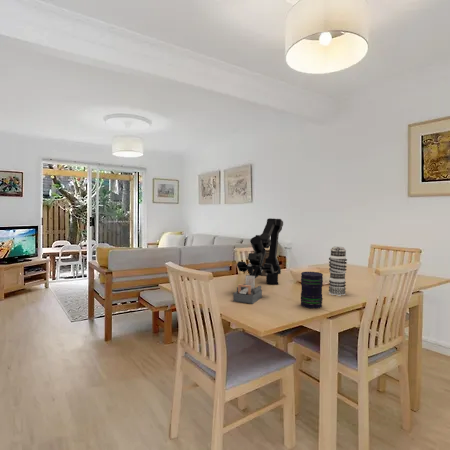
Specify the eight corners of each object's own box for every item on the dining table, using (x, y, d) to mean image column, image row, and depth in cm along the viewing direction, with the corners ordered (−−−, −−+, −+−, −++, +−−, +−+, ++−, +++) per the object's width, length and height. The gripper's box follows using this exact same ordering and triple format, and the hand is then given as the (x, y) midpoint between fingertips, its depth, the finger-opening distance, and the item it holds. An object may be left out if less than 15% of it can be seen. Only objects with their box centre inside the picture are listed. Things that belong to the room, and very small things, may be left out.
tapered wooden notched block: (246, 288, 167) (246, 275, 166) (254, 289, 165) (254, 275, 165) (238, 293, 158) (238, 278, 157) (247, 294, 156) (247, 279, 156)
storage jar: (306, 301, 161) (306, 270, 160) (325, 305, 154) (326, 273, 154) (296, 305, 153) (297, 273, 152) (316, 309, 147) (317, 276, 146)
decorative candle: (334, 296, 169) (335, 248, 168) (324, 292, 178) (325, 246, 177) (350, 295, 171) (351, 247, 170) (339, 291, 180) (340, 246, 179)
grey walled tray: (243, 295, 171) (243, 283, 171) (261, 297, 167) (262, 285, 166) (233, 301, 159) (233, 288, 159) (252, 304, 155) (252, 291, 155)
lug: (239, 292, 161) (239, 284, 160) (250, 293, 158) (251, 285, 158) (238, 292, 159) (238, 284, 159) (250, 294, 157) (250, 286, 157)
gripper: (238, 246, 174) (229, 270, 165) (272, 248, 166) (265, 273, 156) (243, 259, 181) (235, 282, 172) (276, 261, 173) (269, 286, 164)
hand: (250, 281), depth 166 cm, fingers closed, pressing on tapered wooden notched block
